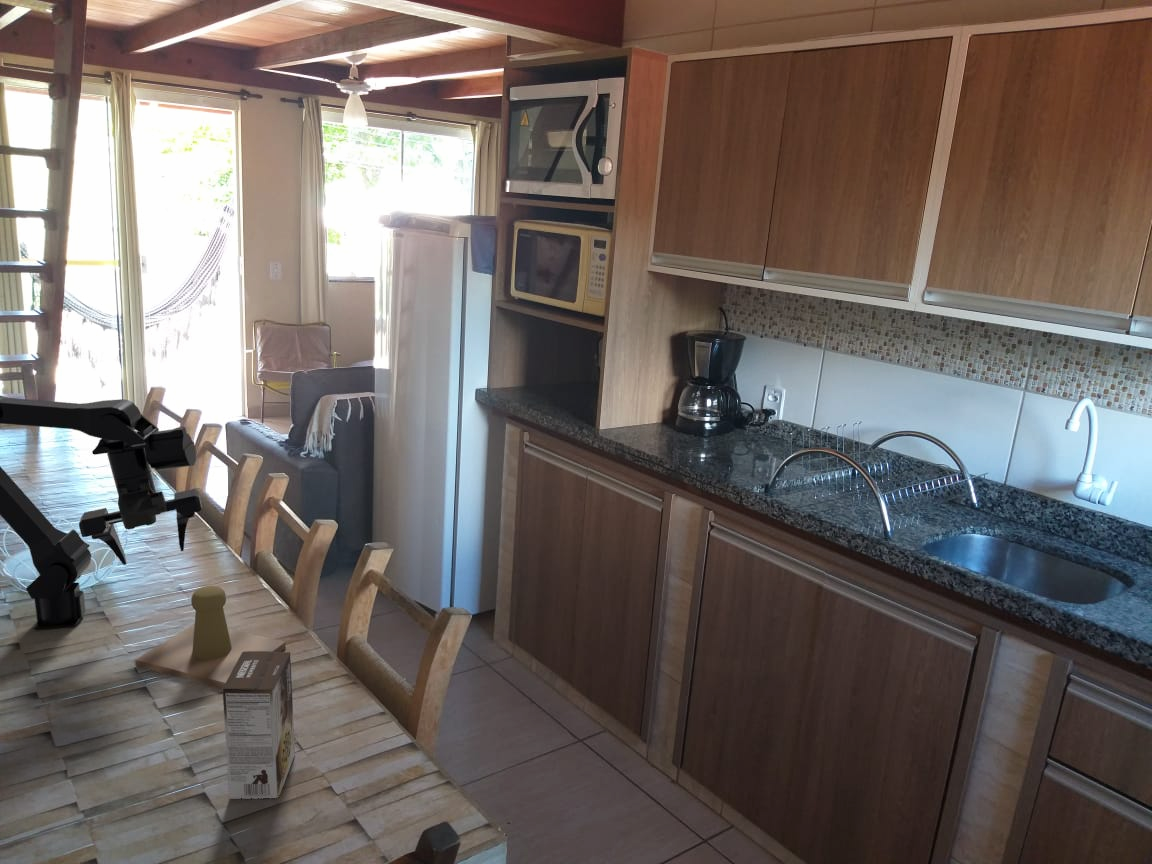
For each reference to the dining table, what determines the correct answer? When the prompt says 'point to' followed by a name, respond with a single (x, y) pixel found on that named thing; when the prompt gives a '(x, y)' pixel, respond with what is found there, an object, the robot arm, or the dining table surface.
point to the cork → (210, 624)
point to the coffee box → (259, 724)
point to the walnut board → (181, 663)
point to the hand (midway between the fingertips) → (154, 557)
